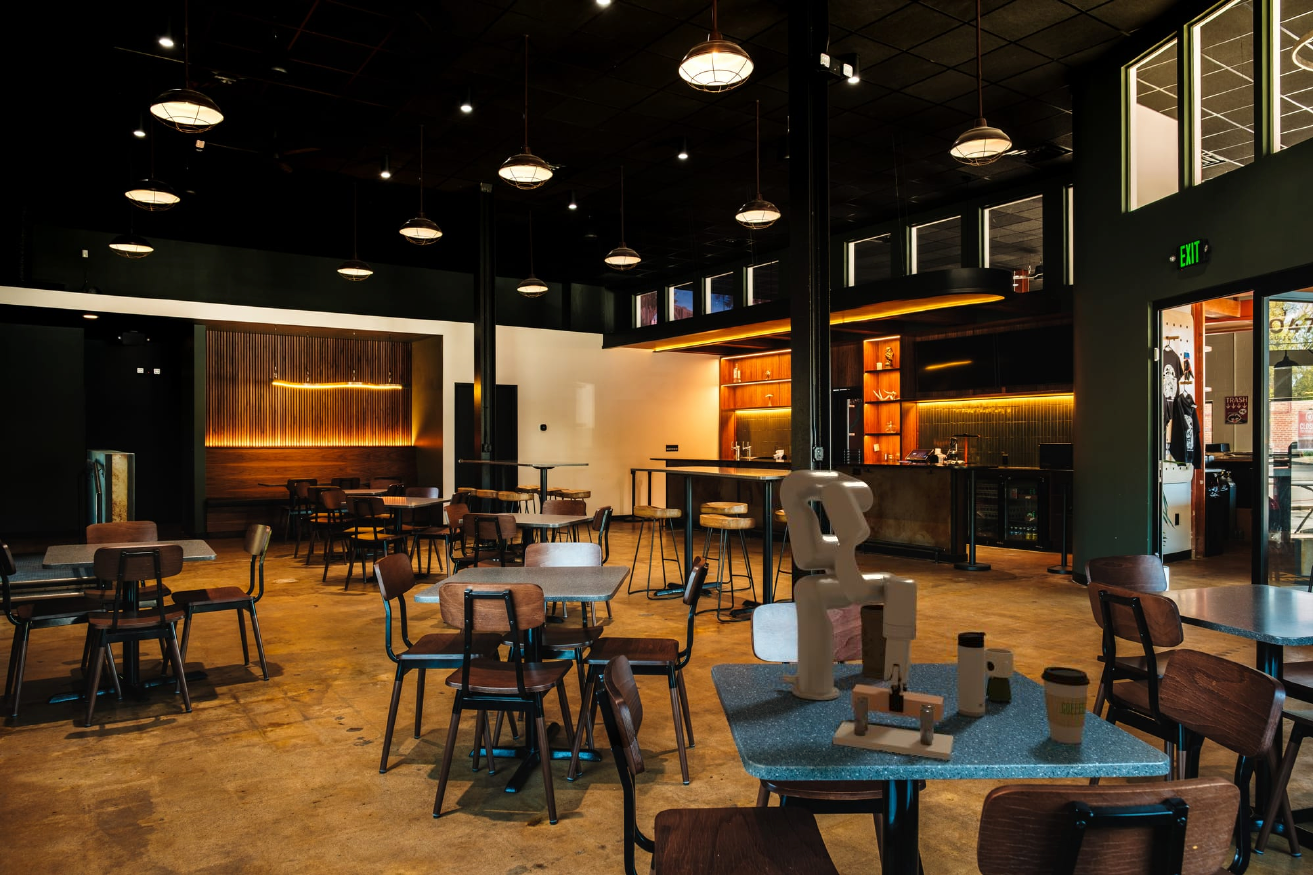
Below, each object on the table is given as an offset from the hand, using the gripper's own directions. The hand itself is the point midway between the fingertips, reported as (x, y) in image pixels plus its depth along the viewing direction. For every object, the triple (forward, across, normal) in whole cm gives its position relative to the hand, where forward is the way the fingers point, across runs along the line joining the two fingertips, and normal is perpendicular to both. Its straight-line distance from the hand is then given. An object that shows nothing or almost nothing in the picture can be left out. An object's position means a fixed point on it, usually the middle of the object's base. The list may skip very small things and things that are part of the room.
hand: (897, 706), depth 186 cm
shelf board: (+1, 0, 0) cm, 1 cm away
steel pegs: (+3, +14, +1) cm, 14 cm away
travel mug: (+4, -17, +16) cm, 24 cm away
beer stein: (+6, -47, -9) cm, 49 cm away
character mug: (+5, -32, +22) cm, 39 cm away
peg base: (+4, +14, +1) cm, 14 cm away
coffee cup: (+4, -6, +36) cm, 37 cm away
